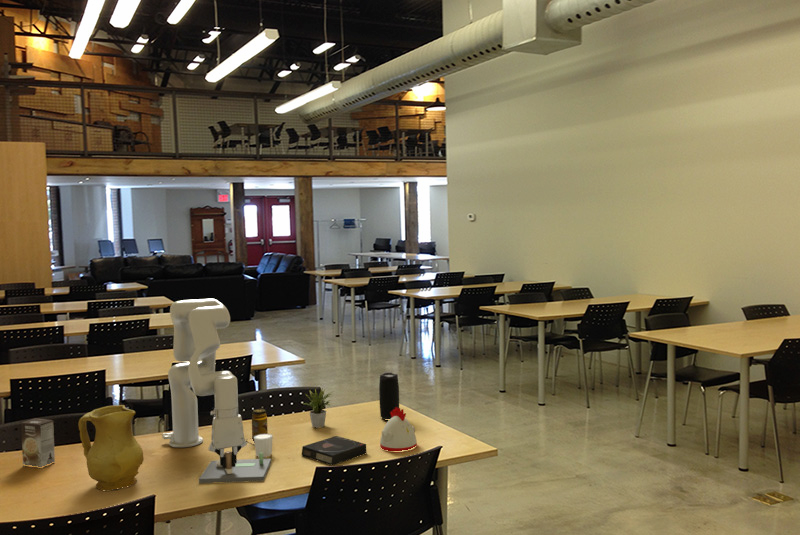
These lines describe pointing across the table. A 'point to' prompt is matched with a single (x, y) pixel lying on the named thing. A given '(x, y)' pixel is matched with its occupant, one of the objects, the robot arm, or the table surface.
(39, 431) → the coffee box
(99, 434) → the pitcher
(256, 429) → the condiment
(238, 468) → the board
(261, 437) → the white cup
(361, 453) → the flat black box
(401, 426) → the kitchen timer
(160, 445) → the table surface
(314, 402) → the house plant
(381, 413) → the portable speaker
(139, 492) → the table surface
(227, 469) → the light piece
